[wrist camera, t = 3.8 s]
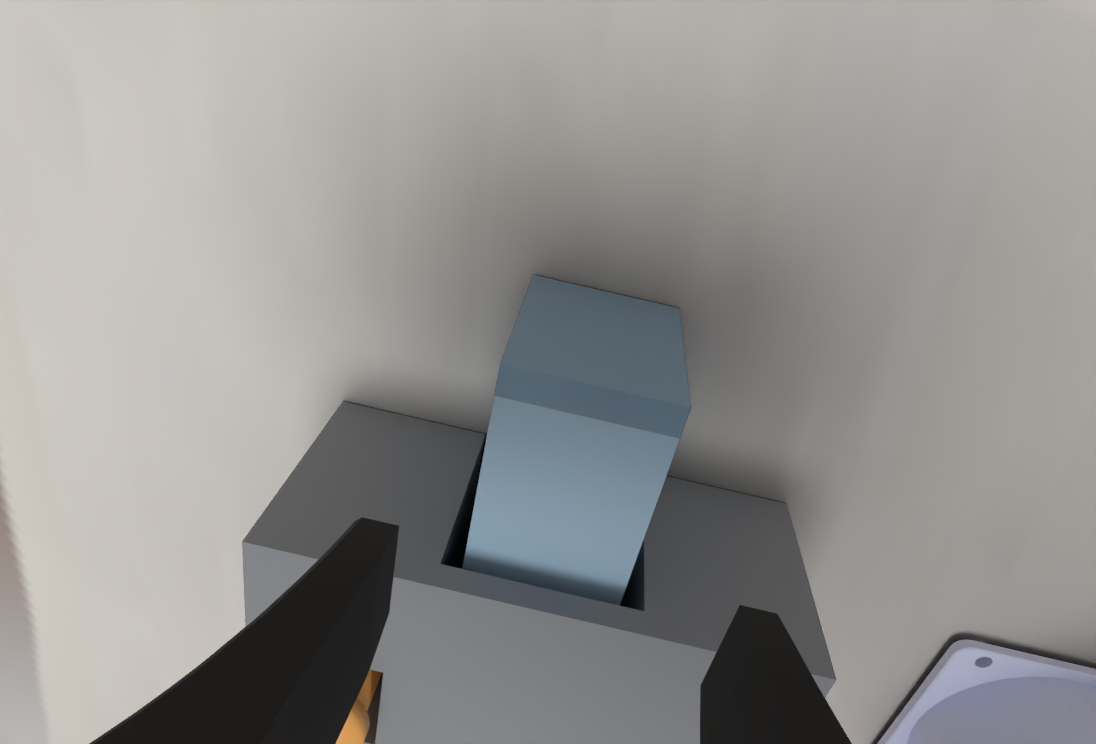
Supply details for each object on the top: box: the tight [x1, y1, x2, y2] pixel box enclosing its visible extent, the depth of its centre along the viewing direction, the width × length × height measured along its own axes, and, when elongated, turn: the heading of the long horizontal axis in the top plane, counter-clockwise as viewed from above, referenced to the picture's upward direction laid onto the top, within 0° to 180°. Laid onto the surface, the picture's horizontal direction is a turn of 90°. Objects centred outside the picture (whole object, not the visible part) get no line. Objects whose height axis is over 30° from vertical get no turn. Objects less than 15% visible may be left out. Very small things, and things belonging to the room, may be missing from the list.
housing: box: [242, 401, 836, 744], centre depth 21 cm, size 14×9×6 cm, turn 79°
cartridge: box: [462, 275, 691, 606], centre depth 19 cm, size 4×13×5 cm, turn 169°
